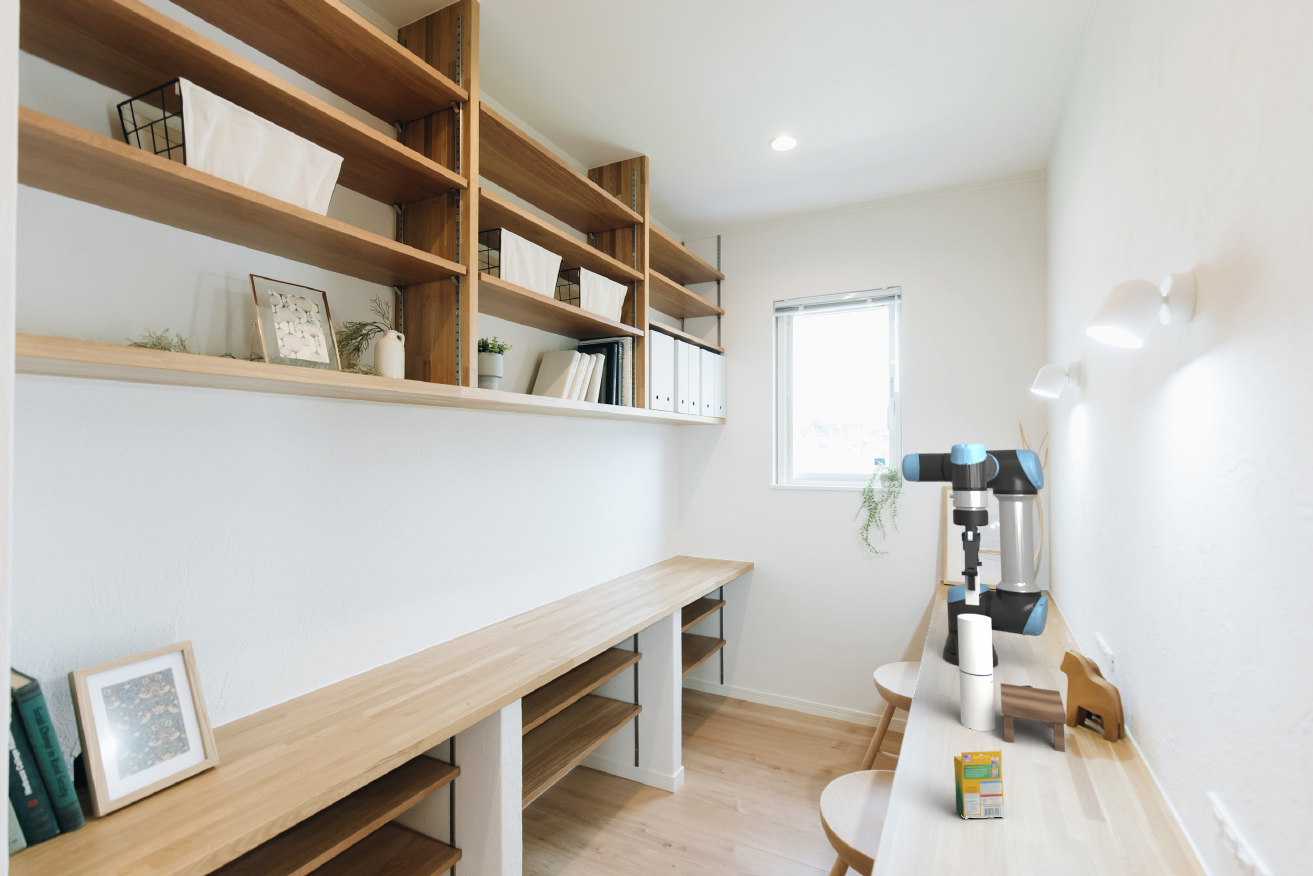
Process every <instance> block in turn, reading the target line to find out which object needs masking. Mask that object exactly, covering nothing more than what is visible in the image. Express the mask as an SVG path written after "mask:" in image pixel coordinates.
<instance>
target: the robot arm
mask: <svg viewBox="0 0 1313 876" xmlns="http://www.w3.org/2000/svg"><path fill="white" fill-rule="evenodd" d="M950 451H951V452H943V453H942V452H938V453H937V452H935V453H933V452H932V453H931V452H930V453H929V452H927V453H925V452H924V453H918V452H916V453H907V454H905V455H904V457H903V459H902V461H901V470H902V471H901V473H902V475H903V476H902V477H903V478H904V480H905V481H907V482H913V483H914V482H916V483H938V482H940V483H941V482H942V483H943V482H944V483H951V485H952V486H951V489H952V493H951V494H949V499H953V500H952V507H953V510H952V522H953V524H954V525H955V526H959V527H960V526H961V527H962V526H963V527H964V532H963V531H962V532H961V541H962V550H963V551H964V570H963V571H962V570H961V576H964V583H962V584H955V585H952V586H950V587H949V588H948V589H947V598H946V599H947V600H946V605H947V621H948V622H947V626H948V630H947V632H948V634H947V637H946V641H945V642H944V643H945V644H944V647H943V650H942V657H943V660H944V661H945V662H948V663H949V664H951V665H954V666H958V667H959V646H958V617H957V616H958V615H960V614H977V615H983V616H987V617H990V618H991V628H992V631H995V632H996V631H998V632H1002V633H1003V632H1004V633H1011V634H1016V635H1022V636H1032V637H1033V636H1034V637H1038V636H1041V635H1042V634H1043V632H1044V630H1045V629H1046V624H1047V618H1048V610H1049V599H1048V596H1046V595H1042V588H1041V587H1039V585H1037V584H1036V579H1035V554H1034V551H1035V550H1034V549H1035V548H1034V524H1033V523H1034V522H1033V519H1034V518H1033V501H1034V500H1035V498H1037V497H1038V495H1039V493H1038V491H1039V490H1043V488H1044V486H1045V485H1044V484H1045V482H1044V479H1045V478H1044V472H1043V466H1042V463H1041V459H1040V457H1039V455H1038V453H1037V452H1035V451H1034V450H1031V449H1019V448H1017V449H994V450H993V449H991V450H990V449H989V450H986V445H984V444H983V443H958V444H957V443H956V444H953V445H952V446H951V449H950ZM988 489H992V495H993V497H995V498H996V499H997V500H998V511H999V512H998V514H999V521H998V522H999V546H1000V549H999V550H1000V573H1001V574H1000V576H1001V580H1000V581H999V582H998V583H997V584H995V590H991V589H990V588H991V587H990V586H989V585H988V584H986V583H985V584H984V583H981V579H980V567H983V562H982V561H980V559H979V551H980V547H981V546H980V545H981V544H980V542H981V539H982V538H981V532H978V530H979V529H978V527H986V526H988V525H989V511H988V510H987V509H986V508H988V507H989V491H988ZM992 654H993V668H995V667H997V666H998V665H999V655H998V653H997V651H996V648H995V645H994V643H993V642H992Z"/></svg>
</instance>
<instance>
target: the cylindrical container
mask: <svg viewBox="0 0 1313 876" xmlns="http://www.w3.org/2000/svg"><path fill="white" fill-rule="evenodd" d="M957 617H958V646H959V666H958V668H959V669H958V670H959V671H958V672H959V694H960V695H959V699H960V700H959V701H960V723H961V725H962V724H963V725H964V727H965V726H966V727H965V728H967V727H968V728H967V729H969V728H971V729H970V730H972V729H974V731H977V732H978V731H979V732H991V731H993V730H995V729H996V715H995V714H996V713H995V712H996V711H995V693H994V692H995V688H994V687H995V685H994V667H993V654H992V643H993V633H992V631H993V630H992V628H991V618H990V617H987V616H983V615H977V614H960V615H958V616H957Z"/></svg>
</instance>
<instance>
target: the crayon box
mask: <svg viewBox="0 0 1313 876" xmlns="http://www.w3.org/2000/svg"><path fill="white" fill-rule="evenodd" d="M953 762H954V764H953V765H954V767H953V768H954V783H955V786H954V787H955V810H957V811H958V812H959V813H960V814H961V815H962V816H963V817H964V818H972V817H977V818H979V817H991V816H992V817H1004V818H1005V805H1004V785H1003V767H1002V765H1003V763H1002V750H987V751H964V752H963V751H962V752H961V755H955V756H953ZM957 811H956V812H957ZM958 812H957V813H958ZM959 813H958V814H959ZM960 814H959V815H960Z"/></svg>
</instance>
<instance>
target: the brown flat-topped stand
mask: <svg viewBox="0 0 1313 876" xmlns="http://www.w3.org/2000/svg"><path fill="white" fill-rule="evenodd" d="M1025 686H1026V685H1018V684H1017V685H1016V684H1008V683H1003V682H1002V683H1000V701H1001V702H1000V705H1001V709H1000V710H1001V715H1003V730H1004V731H1003V733H1004V742H1006V743H1011V744H1012V743H1013V744H1015V734H1014V733H1015V732H1014V728H1015V727H1014V717H1015V718H1016V717H1017V718H1022V719H1023V718H1024V719H1029V720H1036V721H1037V720H1038V721H1043V722H1048V723H1049V728H1051V729H1052V730H1053V747H1054V751H1058V752H1064V753H1066V748H1065V747H1066V745H1065V744H1066V743H1065V741H1066V740H1065V725H1067V713H1066V711H1065V707H1064V702H1063V699H1062V697H1061V693H1060V691H1059V690H1054V689H1048V688H1038V687H1033V686H1031V687H1025Z"/></svg>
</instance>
